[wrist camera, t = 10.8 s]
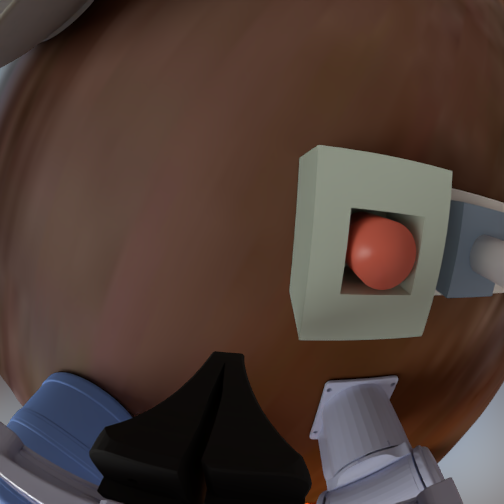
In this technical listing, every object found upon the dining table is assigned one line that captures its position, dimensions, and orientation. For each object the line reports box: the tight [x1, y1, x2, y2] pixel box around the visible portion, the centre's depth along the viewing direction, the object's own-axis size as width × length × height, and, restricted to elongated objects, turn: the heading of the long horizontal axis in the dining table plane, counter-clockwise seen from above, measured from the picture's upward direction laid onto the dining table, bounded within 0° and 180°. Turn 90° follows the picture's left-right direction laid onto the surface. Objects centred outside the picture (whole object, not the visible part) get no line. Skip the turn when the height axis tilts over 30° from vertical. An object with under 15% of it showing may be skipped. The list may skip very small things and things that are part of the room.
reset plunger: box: [345, 212, 416, 290], centre depth 14 cm, size 4×4×4 cm
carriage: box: [435, 200, 504, 298], centre depth 14 cm, size 7×6×6 cm
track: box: [289, 145, 504, 340], centre depth 16 cm, size 10×30×7 cm, turn 87°
